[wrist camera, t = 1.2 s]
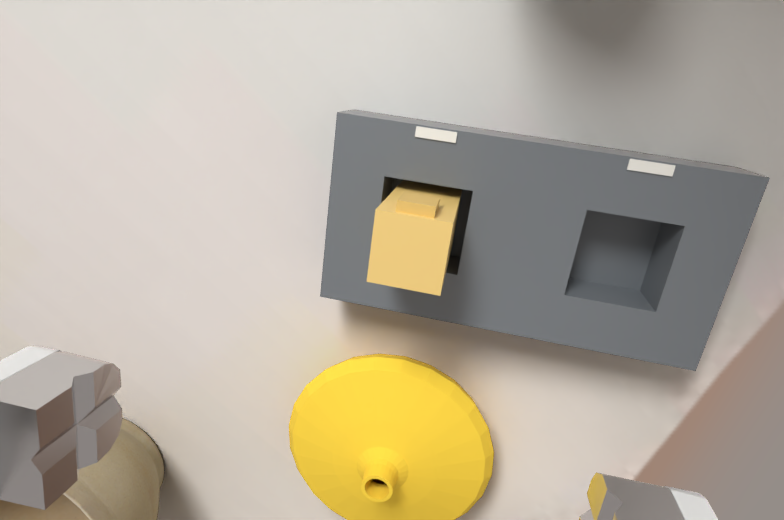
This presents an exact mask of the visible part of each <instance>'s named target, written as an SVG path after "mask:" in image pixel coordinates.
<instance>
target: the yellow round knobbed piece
mask: <svg viewBox="0 0 784 520" xmlns="http://www.w3.org/2000/svg"><path fill="white" fill-rule="evenodd" d="M289 437H290V449H291V451H292V454H293V457H294V460H295V463H296V466H297V469H298V470H299V472H300V474H301V475H302V477H303V478H304V480H305V481H306V483H307V484H308V486H309V487H310V489H311V490H312V492H313V493H314V494H315V495H316V496H317V497H318V498H319V499H320V500H321V501H322V502H323V503H324V504H325V505H326V506H327V507H328V508H330V509H331V510H332V511H334V512H336V513H337V514H339V515H340V516H342V517H344V518H345V519H347V520H455V519H457V518H458V517H460V516H462V515H463V514H465V513H467V512H468V511H469V510H470V509H471V508H472V506H473V505H474V504H475V503H476V502H477V501H478V500H479V499H480V498H481V497H482V495H483V493H484V491H485V489H486V487H487V484H488V482H489V480H490V478H491V476H492V467H493V456H494V450H493V446H492V441H491V437H490V432H489V428H488V426H487V424H486V423H485V421H484V419H483V417H482V415H481V414H480V412H479V410H478V408H477V406H476V405H475V403H474V401H473V399H472V398H471V397H470V396H469V395H468V394H467V393H466V392H465V391H464V390H463V389H462V388H461V387H460V386H459V384H458V383H457V382H456V381H455V380H454V379H452V378H450V377H449V376H447V375H446V374H444V373H443V372H441V371H439V370H438V369H436V368H435V367H433V366H431V365H429V364H426V363H423V362H420V361H417V360H414V359H411V358H409V357H406V356H397V355H387V354H373V355H365V356H358V357H353V358H350V359H348V360H346V361H343V362H341V363H339V364H336V365H334V366H332V367H330V368H328V369H326V370H324V371H323V372H322V373H321V374H319V375H318V376H317V377H316V378H315V379H313V380H312V381H311V382H310V383H309V384H307V385H306V387H305V388H304V390H303V391H302V393H301V394H300V396H299V398H298V399H297V401H296V402H295V404H294V407H293V411H292V415H291V419H290V423H289Z"/></svg>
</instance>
